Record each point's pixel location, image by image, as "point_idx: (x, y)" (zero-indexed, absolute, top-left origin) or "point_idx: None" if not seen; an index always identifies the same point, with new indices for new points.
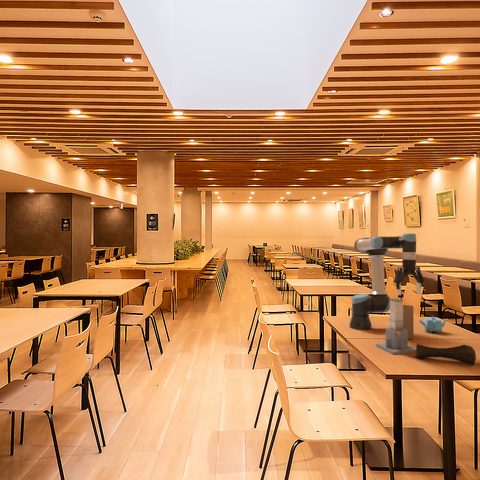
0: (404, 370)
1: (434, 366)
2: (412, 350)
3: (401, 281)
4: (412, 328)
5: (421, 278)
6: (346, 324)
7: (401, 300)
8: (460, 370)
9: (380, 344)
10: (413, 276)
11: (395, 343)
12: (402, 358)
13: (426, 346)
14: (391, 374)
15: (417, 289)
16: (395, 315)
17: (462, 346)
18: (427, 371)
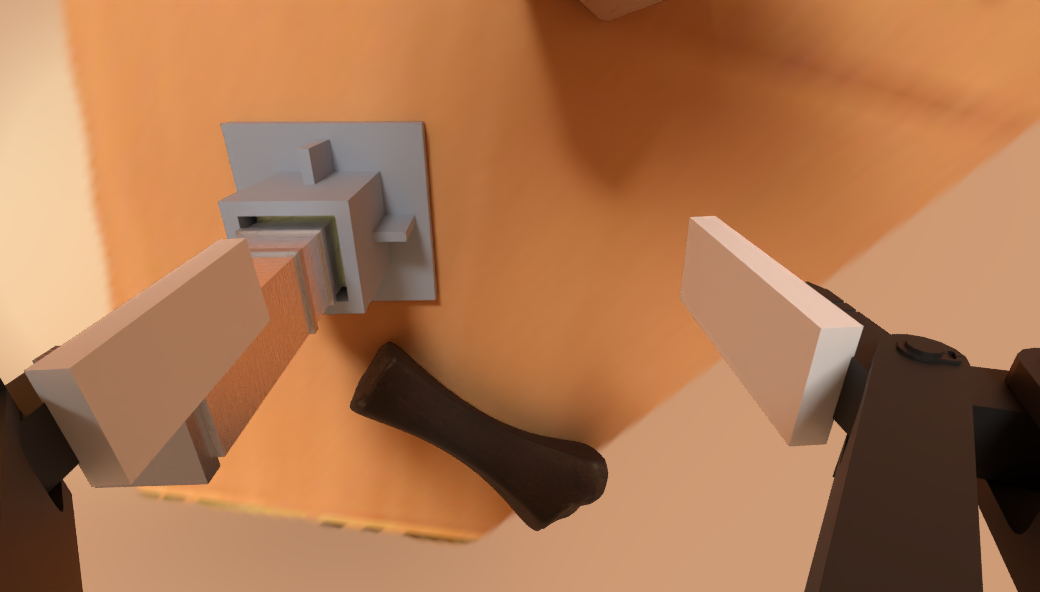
0: (227, 476)
1: (383, 461)
2: (397, 299)
3: (75, 553)
4: (622, 12)
5: (1010, 565)
6: None
7: (183, 481)
8: (457, 506)
9: (247, 149)
10: (829, 548)
11: None
12: (294, 357)
13: (404, 421)
14: (152, 498)
15: (718, 287)
16: None
17: (533, 517)
18: (318, 496)
